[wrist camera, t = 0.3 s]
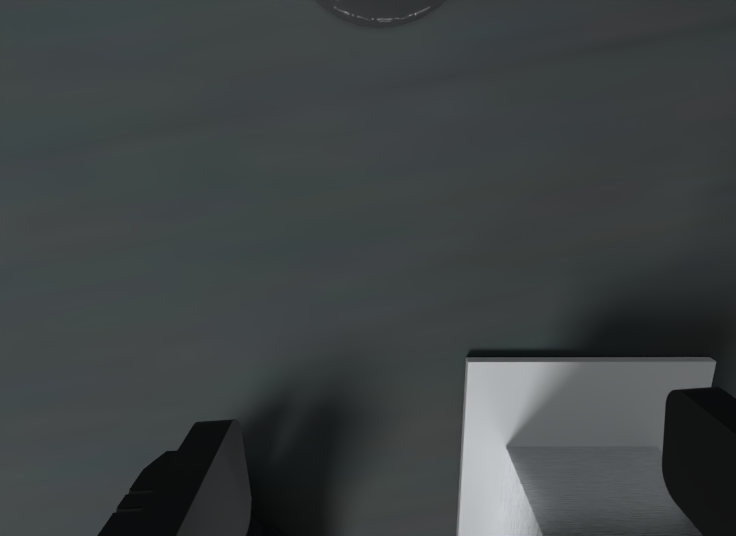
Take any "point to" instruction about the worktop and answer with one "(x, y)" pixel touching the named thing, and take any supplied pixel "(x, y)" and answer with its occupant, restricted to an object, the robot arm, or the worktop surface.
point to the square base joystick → (588, 493)
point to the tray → (558, 414)
